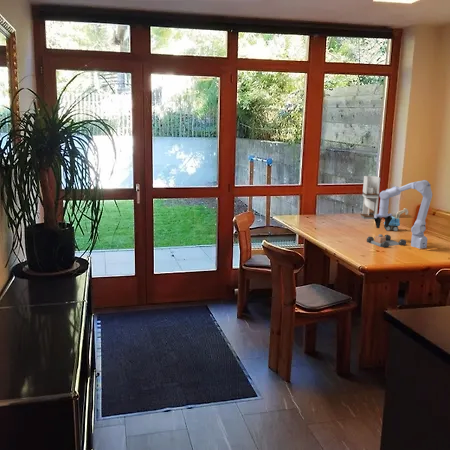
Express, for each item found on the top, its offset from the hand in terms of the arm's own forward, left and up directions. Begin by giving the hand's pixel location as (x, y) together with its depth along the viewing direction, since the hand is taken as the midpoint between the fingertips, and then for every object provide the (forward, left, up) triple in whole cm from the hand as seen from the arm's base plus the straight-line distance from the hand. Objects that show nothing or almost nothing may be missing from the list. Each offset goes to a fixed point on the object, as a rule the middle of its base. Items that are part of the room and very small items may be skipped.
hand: (382, 227), depth 333 cm
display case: (+69, -50, -10) cm, 85 cm away
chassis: (-9, +4, -10) cm, 14 cm away
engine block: (-9, +9, -8) cm, 15 cm away
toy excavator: (+23, -35, -10) cm, 43 cm away
